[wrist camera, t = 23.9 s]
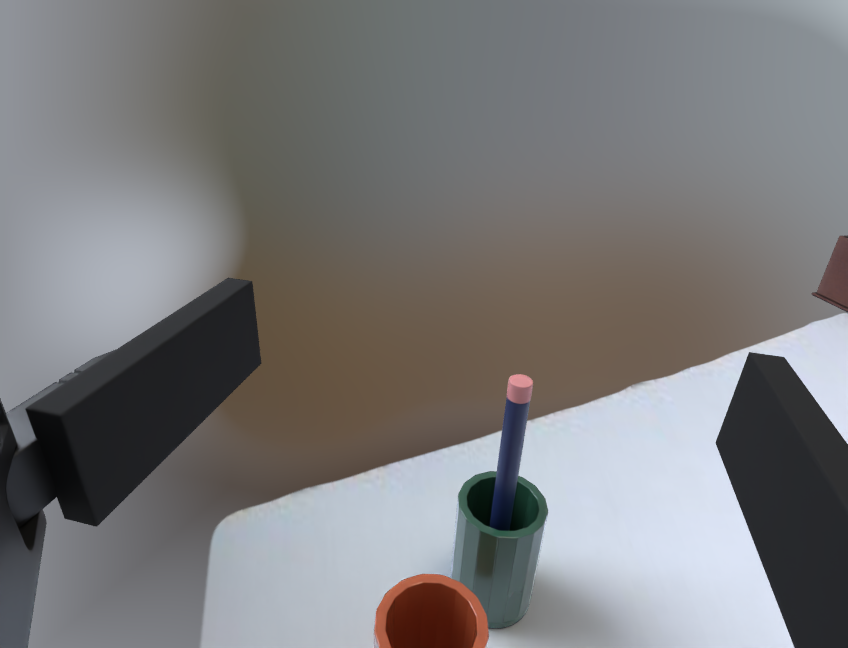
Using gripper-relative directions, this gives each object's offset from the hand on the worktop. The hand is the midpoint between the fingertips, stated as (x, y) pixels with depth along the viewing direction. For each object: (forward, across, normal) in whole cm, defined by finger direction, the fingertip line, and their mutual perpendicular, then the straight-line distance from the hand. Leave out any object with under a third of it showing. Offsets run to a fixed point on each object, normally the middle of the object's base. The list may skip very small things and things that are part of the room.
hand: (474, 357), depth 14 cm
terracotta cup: (+5, -1, -29) cm, 29 cm away
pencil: (+15, +1, -28) cm, 32 cm away
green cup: (+15, +1, -29) cm, 32 cm away
